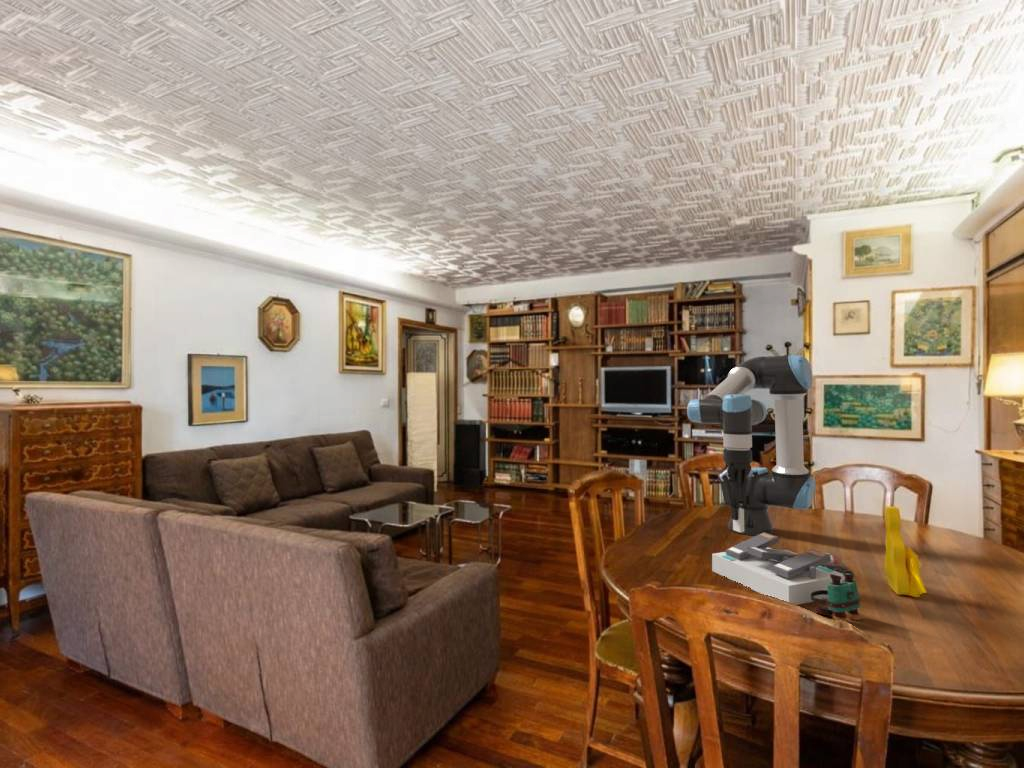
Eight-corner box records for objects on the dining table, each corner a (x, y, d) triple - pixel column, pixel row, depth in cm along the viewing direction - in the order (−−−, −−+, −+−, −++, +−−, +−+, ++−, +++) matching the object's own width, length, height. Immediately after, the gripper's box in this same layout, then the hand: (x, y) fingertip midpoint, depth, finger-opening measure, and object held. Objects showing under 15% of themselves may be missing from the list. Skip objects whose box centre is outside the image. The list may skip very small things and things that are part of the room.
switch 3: (813, 555, 138) (812, 549, 138) (830, 561, 133) (829, 554, 133) (771, 572, 133) (770, 565, 132) (788, 578, 128) (787, 571, 128)
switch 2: (787, 556, 145) (788, 549, 145) (802, 561, 140) (803, 555, 141) (746, 552, 140) (747, 546, 140) (761, 558, 135) (762, 551, 135)
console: (764, 562, 156) (764, 536, 156) (846, 594, 132) (846, 564, 132) (712, 570, 149) (712, 544, 149) (788, 606, 125) (788, 574, 125)
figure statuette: (936, 608, 123) (935, 516, 124) (897, 603, 126) (896, 514, 126) (907, 582, 140) (906, 501, 140) (873, 578, 143) (873, 499, 143)
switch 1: (764, 537, 153) (763, 531, 153) (778, 542, 148) (777, 536, 148) (726, 555, 148) (725, 549, 147) (739, 560, 143) (738, 554, 143)
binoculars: (823, 563, 127) (864, 572, 118) (828, 607, 126) (870, 619, 117) (798, 568, 123) (839, 577, 114) (802, 613, 122) (844, 627, 113)
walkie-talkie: (802, 560, 159) (815, 582, 141) (802, 545, 159) (815, 566, 141) (835, 563, 156) (852, 587, 138) (835, 548, 156) (852, 570, 138)
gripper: (745, 445, 152) (746, 524, 152) (709, 448, 147) (711, 530, 148) (765, 448, 145) (766, 531, 145) (729, 451, 140) (730, 537, 141)
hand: (738, 530), depth 146 cm, fingers closed
